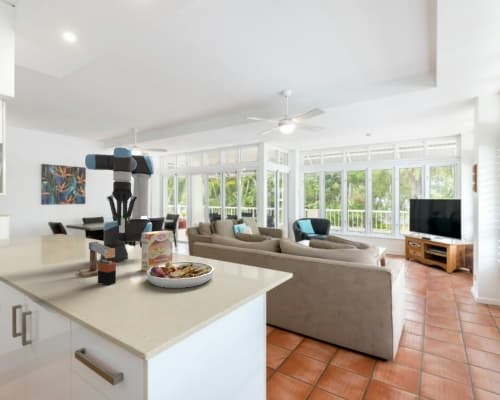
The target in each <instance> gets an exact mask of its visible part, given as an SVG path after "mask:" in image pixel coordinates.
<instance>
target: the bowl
mask: <svg viewBox="0 0 500 400" xmlns="http://www.w3.org/2000/svg"><path fill="white" fill-rule="evenodd" d="M214 272H215V271H214V266H213V265H210V264H207V263H204V262H196V261H175V262H172V263H166V264H161V265H157V266H154V267H152V268H150V269H149V270H148V271H146V277H147V279H148V281H149V282H150V283H151V284H152V285H154V286H156V287H159V288H164V287H165V288H166V289H186V287H188V288H192V287H193V286H194V287H197V285H198V286H200V285H201V286H202V285H203V284H205V283H207V282H208V281H209V280H211V279H212V278H213V275H214Z"/></svg>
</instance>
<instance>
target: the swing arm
mask: <svg viewBox="0 0 500 400" xmlns="http://www.w3.org/2000/svg"><path fill="white" fill-rule="evenodd" d="M90 249H91V250H93V251H95V252H97V254H99V255H100V256H101V255H103V256H105V258H112V257H115V249H114V248H109V247H107V246H105V245H104V244H102V243H101V242H99V241H91V242H88V250H90Z"/></svg>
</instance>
